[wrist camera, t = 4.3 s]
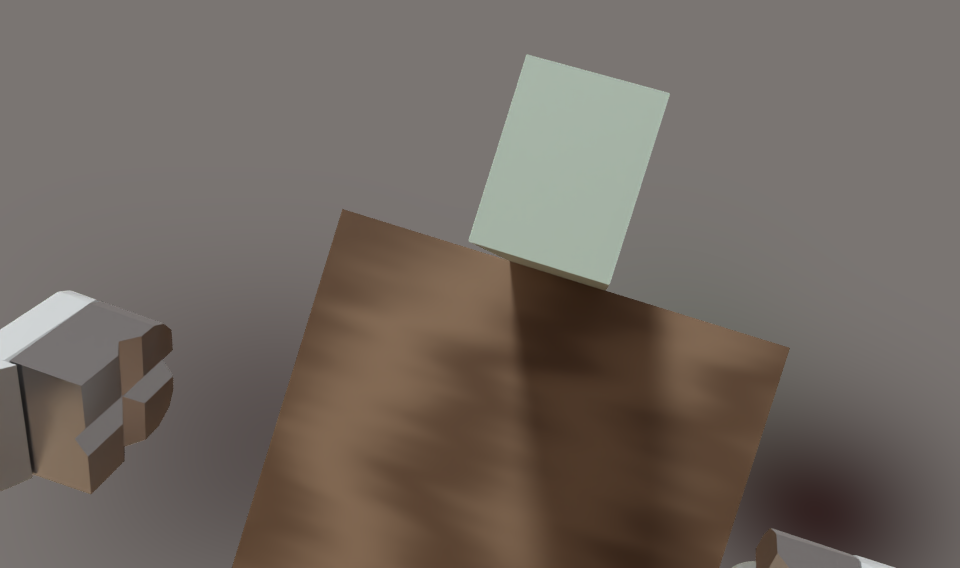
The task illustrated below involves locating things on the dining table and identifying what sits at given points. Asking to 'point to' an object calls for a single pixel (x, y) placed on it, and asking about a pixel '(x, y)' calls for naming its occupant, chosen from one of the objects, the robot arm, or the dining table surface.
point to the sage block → (568, 171)
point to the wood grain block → (502, 420)
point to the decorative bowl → (746, 565)
